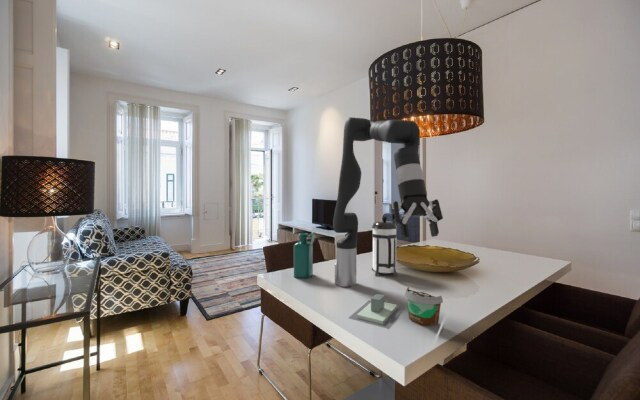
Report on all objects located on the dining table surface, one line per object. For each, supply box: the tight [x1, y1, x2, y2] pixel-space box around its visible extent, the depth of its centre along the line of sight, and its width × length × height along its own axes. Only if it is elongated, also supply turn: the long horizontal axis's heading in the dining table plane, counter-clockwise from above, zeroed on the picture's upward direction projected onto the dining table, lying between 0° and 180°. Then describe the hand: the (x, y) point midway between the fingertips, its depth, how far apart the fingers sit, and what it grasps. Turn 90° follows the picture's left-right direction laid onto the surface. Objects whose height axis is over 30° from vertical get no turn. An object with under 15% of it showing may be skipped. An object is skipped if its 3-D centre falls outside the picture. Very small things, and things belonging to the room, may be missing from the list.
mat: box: [348, 299, 406, 330], centre depth 98 cm, size 14×18×1 cm
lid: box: [357, 293, 398, 325], centre depth 98 cm, size 9×15×6 cm, turn 148°
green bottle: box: [293, 232, 316, 279], centre depth 143 cm, size 10×8×22 cm
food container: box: [404, 286, 444, 327], centre depth 91 cm, size 12×6×10 cm, turn 45°
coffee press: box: [371, 215, 398, 277], centre depth 145 cm, size 17×16×30 cm
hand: (420, 237), depth 78 cm, fingers open, 8 cm apart
